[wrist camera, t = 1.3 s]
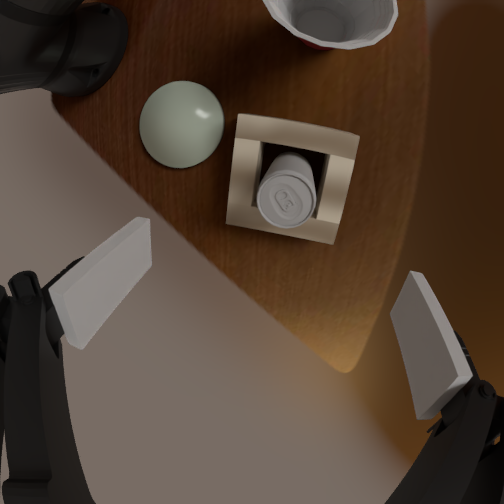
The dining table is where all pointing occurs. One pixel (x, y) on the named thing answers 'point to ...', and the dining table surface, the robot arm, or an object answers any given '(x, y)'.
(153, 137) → the pale green cabochon
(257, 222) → the birch sleeve
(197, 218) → the dining table surface
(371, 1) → the plastic cup
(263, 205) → the beverage can
